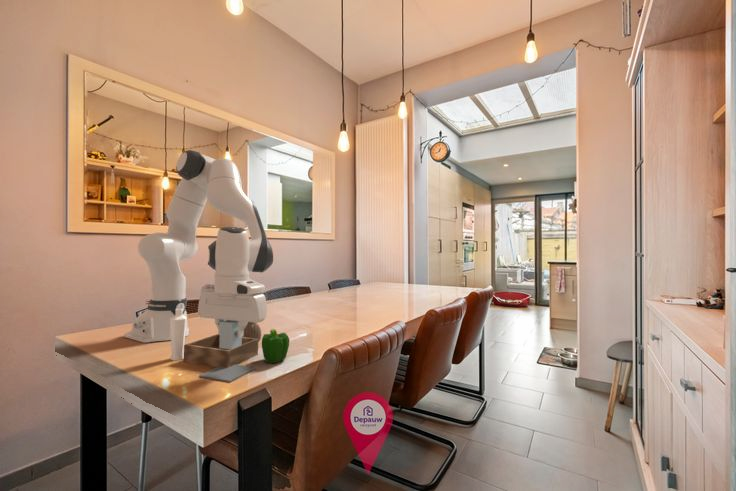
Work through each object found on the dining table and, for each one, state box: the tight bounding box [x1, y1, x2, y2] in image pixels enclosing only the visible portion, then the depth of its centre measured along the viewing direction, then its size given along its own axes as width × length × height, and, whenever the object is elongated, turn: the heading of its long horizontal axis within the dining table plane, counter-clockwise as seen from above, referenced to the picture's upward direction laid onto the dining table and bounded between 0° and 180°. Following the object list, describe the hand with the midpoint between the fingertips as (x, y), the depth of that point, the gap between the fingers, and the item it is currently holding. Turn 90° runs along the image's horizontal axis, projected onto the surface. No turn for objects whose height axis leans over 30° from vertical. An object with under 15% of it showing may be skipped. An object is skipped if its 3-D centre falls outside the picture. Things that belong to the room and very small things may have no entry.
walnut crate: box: [183, 333, 259, 368], centre depth 100 cm, size 16×14×5 cm
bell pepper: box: [261, 328, 290, 364], centre depth 99 cm, size 8×8×10 cm
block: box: [219, 320, 242, 349], centre depth 89 cm, size 4×4×7 cm
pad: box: [198, 364, 256, 383], centre depth 89 cm, size 10×10×1 cm
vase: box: [243, 322, 262, 343], centre depth 115 cm, size 7×7×9 cm
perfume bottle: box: [169, 309, 188, 362], centre depth 99 cm, size 5×4×15 cm
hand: (230, 335), depth 89 cm, fingers closed on block, 4 cm apart
